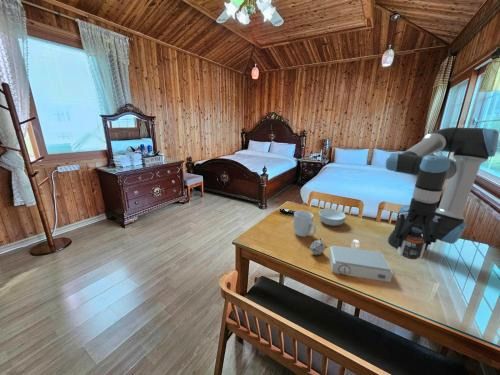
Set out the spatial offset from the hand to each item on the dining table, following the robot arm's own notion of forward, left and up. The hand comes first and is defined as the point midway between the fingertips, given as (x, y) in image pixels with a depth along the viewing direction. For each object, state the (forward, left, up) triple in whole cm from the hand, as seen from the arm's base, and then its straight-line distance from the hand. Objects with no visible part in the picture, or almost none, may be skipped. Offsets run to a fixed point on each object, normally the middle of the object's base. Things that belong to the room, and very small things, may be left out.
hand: (409, 255), depth 85 cm
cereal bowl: (+21, -56, -17) cm, 62 cm away
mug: (+39, -35, -17) cm, 55 cm away
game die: (+32, -17, -17) cm, 40 cm away
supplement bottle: (0, 0, -1) cm, 1 cm away
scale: (+14, -11, -17) cm, 24 cm away
